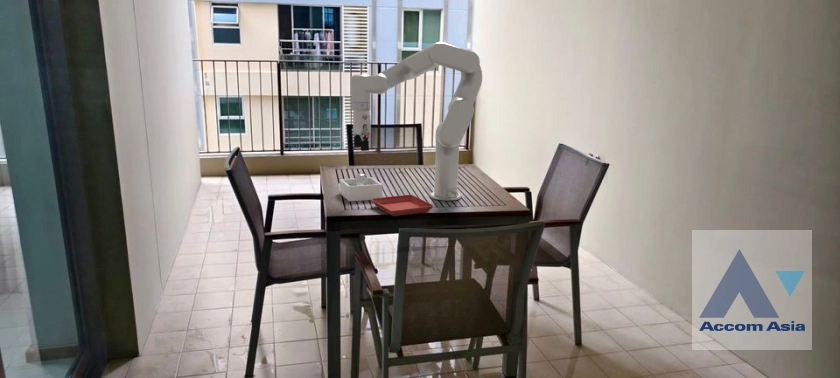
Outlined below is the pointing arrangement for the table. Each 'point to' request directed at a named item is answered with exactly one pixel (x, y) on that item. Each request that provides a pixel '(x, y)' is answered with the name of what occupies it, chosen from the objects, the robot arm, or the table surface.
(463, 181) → the table surface
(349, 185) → the walled box
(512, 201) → the table surface
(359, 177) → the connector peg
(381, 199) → the plant saucer
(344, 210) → the table surface
